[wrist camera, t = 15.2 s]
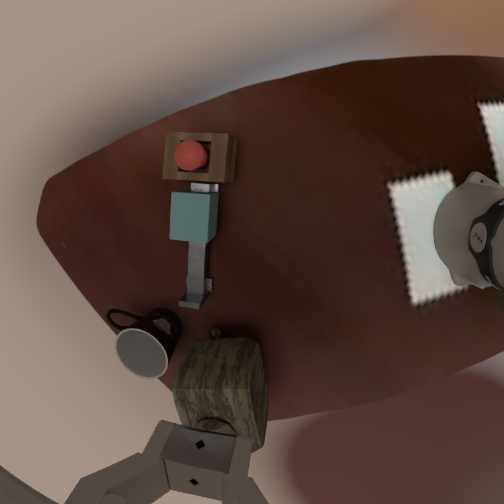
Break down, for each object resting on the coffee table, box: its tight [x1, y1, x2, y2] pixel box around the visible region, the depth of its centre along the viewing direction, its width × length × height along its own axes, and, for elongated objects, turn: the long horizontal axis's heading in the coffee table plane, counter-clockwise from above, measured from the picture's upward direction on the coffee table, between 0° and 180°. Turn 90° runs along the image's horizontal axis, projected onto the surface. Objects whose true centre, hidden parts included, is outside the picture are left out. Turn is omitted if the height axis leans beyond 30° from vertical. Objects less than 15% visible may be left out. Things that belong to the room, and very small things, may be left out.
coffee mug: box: [106, 308, 182, 379], centre depth 45 cm, size 12×9×10 cm
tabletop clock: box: [172, 328, 269, 453], centre depth 38 cm, size 14×9×25 cm, turn 9°
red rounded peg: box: [174, 140, 210, 171], centre depth 37 cm, size 4×4×6 cm
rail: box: [179, 183, 220, 309], centre depth 43 cm, size 4×17×6 cm, turn 175°
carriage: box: [170, 190, 219, 243], centre depth 40 cm, size 5×6×6 cm
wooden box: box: [163, 132, 237, 183], centre depth 39 cm, size 8×6×7 cm
